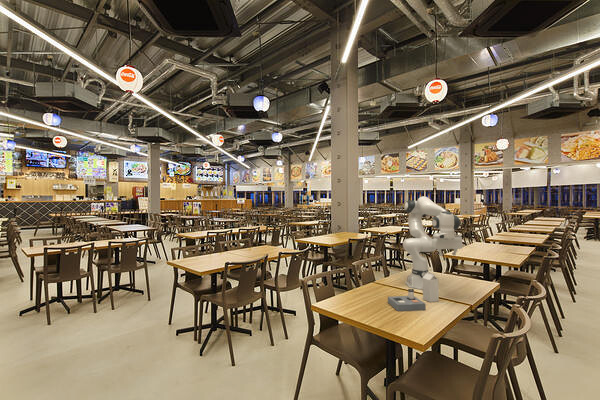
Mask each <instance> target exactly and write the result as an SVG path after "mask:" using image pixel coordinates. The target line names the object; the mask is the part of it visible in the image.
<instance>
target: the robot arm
mask: <svg viewBox="0 0 600 400" xmlns="http://www.w3.org/2000/svg"><path fill="white" fill-rule="evenodd" d="M403 208H404V209H403V210H404V211H405V212H406V213H408V214H409V213H410V214H409V215H408V218H407V223H408V229H409V234H410V236H412V237H409V238H405V239H404V240H403V243H402V248H403V249H404V251H406V253H408V254H409V256H410V257H411V262H412V268H411V273H409V275H408V276H407V277H406V280H405V281H404V283H405V285H406V286H407V287H408V288H410V289H413V288H414V289H418V290H423V277H424V275H425V274H426V273H427V272H429V269H428V268H429V267H428V264H429V263H428V259H427V258H426V257H424V256H423V255H421V253H431V252H435V251H436V250H437V252H438V254H439V255H438V256H440V257H443V256H444V253H443V252H442V250H453V252H451V253H452V256H456V254H457V252H458V250H459V249H463V237H462V235H460V234H455V230H458V229H459V228H460V226H461V225H462V221H461V219H460V217H458V215H454V213H453V212H451V211H449V210H447V209H446V208H444V207H442V206H440V205H439V204H436V203H435V202H433V201H432V199H430V198H429V197H427V196H425V195H424V196H423V195H422V196H420V197H419V198H417V200H413V199H409V200H407V201H406V202H404V206H403ZM426 216H433V218H432V220H431V223H432V224H431V225H432V227H433V228H434V229H436V230H439V232H437V233H434V234H433V235H432V237H433V238H432V237H430V235H428V234H427V233H426V231H425V228H424V225H423V222H422V218H425V217H426Z"/></svg>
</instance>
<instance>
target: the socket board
mask: <svg viewBox="0 0 600 400" xmlns="http://www.w3.org/2000/svg"><path fill="white" fill-rule="evenodd" d="M387 303H388V304H389V305H390V306H391V307H393V309H395V311H397V312H413V311H426V309H427V308H426V305H427V304H426V303H425V302H424V301H422V300H421V299H419V298H418V297H416V296H415V295H414V300H408V295H398V296H397V295H392V296H387Z"/></svg>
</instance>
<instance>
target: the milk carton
mask: <svg viewBox="0 0 600 400" xmlns="http://www.w3.org/2000/svg"><path fill="white" fill-rule="evenodd" d="M439 296H440V295H439V278H438V277H436V275H435V273H433V272H429V271H428V272H427V273H426V274H425V275H424V277H423V289H422V300H425V301H426V302H429V303H434V302H435V303H436V302H439V301H440V300H439V299H440V298H439Z"/></svg>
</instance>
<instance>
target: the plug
mask: <svg viewBox="0 0 600 400" xmlns="http://www.w3.org/2000/svg"><path fill="white" fill-rule="evenodd" d="M407 294H408V295H407V296H408V300H414V296H415V288H414V289H413V288H407Z"/></svg>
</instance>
